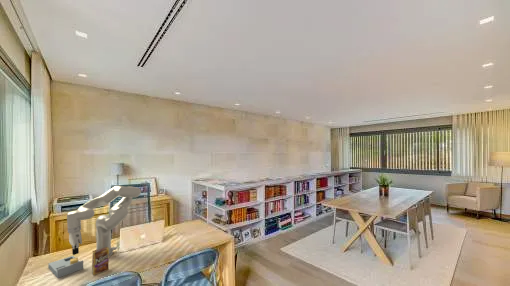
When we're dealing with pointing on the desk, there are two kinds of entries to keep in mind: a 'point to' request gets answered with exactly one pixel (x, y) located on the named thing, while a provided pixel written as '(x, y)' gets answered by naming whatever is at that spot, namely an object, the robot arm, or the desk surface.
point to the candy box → (100, 260)
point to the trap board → (64, 266)
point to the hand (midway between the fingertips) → (75, 253)
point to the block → (73, 260)
